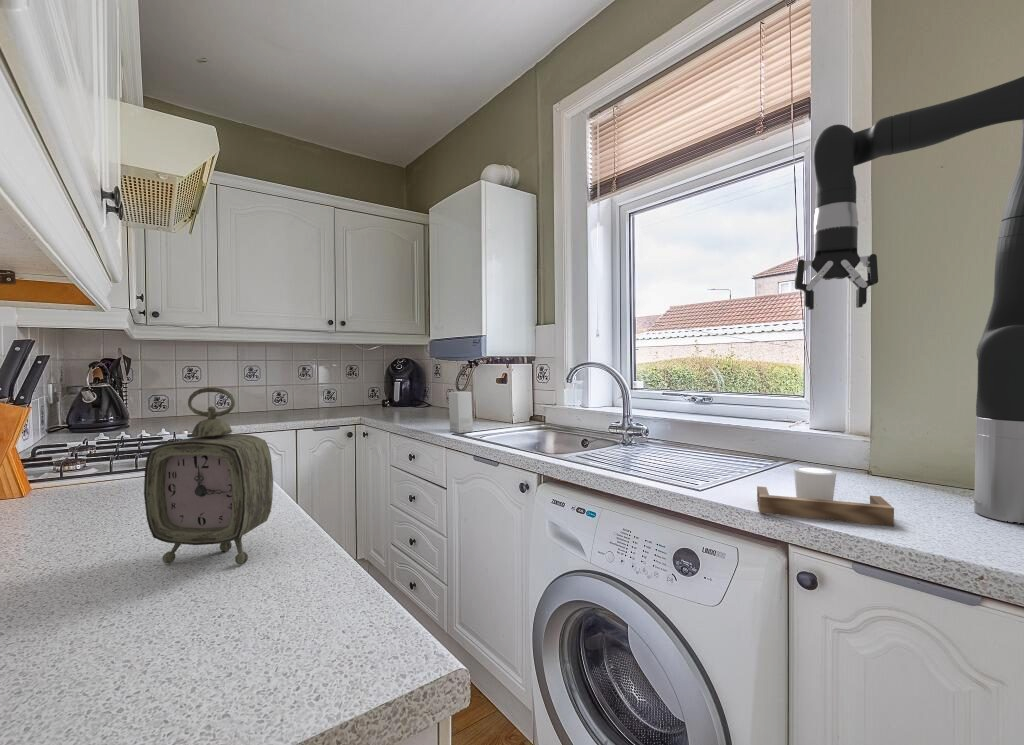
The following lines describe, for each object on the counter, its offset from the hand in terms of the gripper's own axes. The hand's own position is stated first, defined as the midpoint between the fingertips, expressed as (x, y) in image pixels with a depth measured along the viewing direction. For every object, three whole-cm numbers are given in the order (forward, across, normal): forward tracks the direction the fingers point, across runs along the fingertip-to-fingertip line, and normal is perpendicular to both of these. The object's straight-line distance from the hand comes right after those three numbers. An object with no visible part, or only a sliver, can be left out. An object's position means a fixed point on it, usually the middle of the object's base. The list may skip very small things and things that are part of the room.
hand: (834, 308), depth 103 cm
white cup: (+38, +5, +13) cm, 41 cm away
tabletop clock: (+38, +90, +71) cm, 121 cm away
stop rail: (+38, +5, +17) cm, 42 cm away
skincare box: (+38, +115, -49) cm, 131 cm away
